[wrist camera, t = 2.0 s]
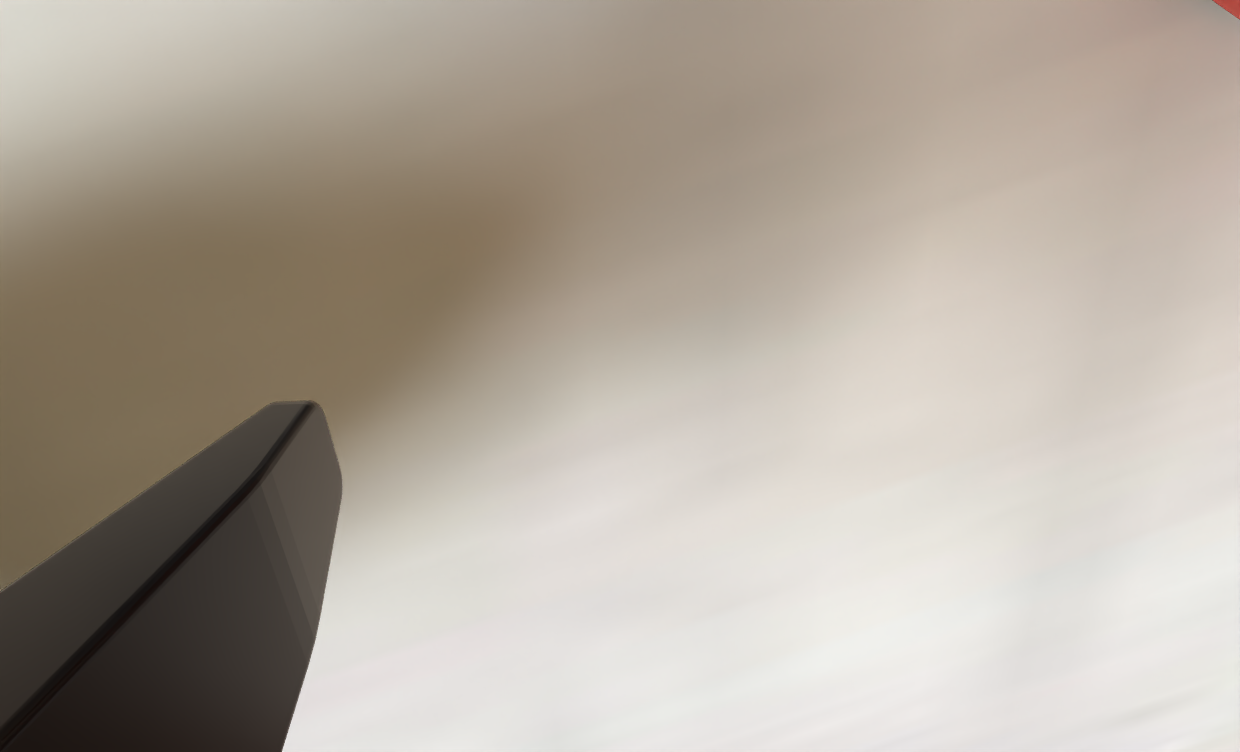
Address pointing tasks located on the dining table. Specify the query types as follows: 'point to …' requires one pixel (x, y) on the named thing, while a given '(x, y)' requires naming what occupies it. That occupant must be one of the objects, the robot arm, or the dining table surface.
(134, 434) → the dining table surface
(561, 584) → the dining table surface
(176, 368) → the dining table surface
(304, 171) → the dining table surface
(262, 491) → the robot arm
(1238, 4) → the beer can
